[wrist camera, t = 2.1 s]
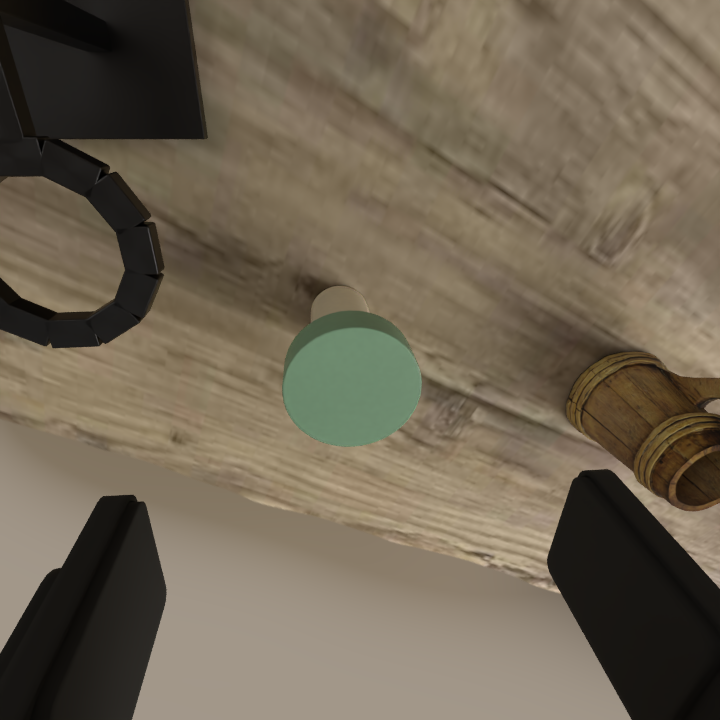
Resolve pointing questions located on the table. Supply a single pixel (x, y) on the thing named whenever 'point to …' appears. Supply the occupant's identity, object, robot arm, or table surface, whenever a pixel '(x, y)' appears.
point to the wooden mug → (653, 425)
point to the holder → (94, 132)
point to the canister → (349, 373)
